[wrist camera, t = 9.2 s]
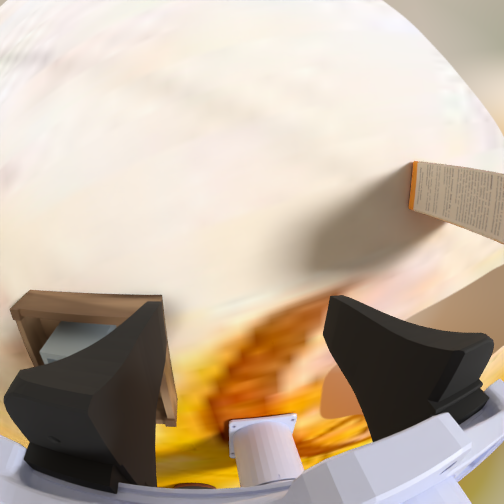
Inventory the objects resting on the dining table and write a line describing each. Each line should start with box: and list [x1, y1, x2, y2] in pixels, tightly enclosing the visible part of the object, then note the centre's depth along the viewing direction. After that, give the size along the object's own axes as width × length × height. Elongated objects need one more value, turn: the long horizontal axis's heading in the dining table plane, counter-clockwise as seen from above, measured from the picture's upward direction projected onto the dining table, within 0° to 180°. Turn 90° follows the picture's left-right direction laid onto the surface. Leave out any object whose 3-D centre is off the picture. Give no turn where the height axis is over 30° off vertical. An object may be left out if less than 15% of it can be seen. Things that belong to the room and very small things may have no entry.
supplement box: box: [409, 161, 504, 244], centre depth 16 cm, size 8×5×13 cm, turn 87°
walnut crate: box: [10, 290, 177, 427], centre depth 20 cm, size 12×13×4 cm
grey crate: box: [40, 321, 117, 364], centre depth 18 cm, size 8×5×6 cm, turn 178°
